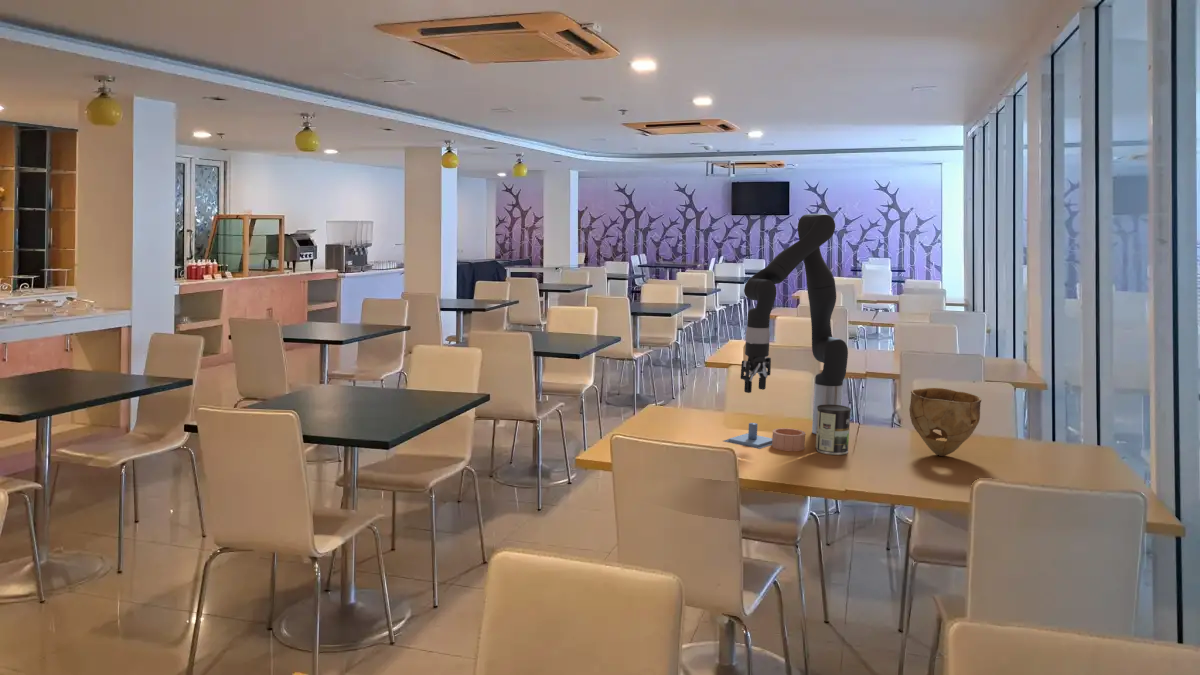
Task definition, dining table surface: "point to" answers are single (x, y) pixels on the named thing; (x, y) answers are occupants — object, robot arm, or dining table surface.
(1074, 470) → the dining table surface
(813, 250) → the robot arm
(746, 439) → the lid
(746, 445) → the mat
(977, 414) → the bowl
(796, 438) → the faceted pink cup
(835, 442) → the coffee can
